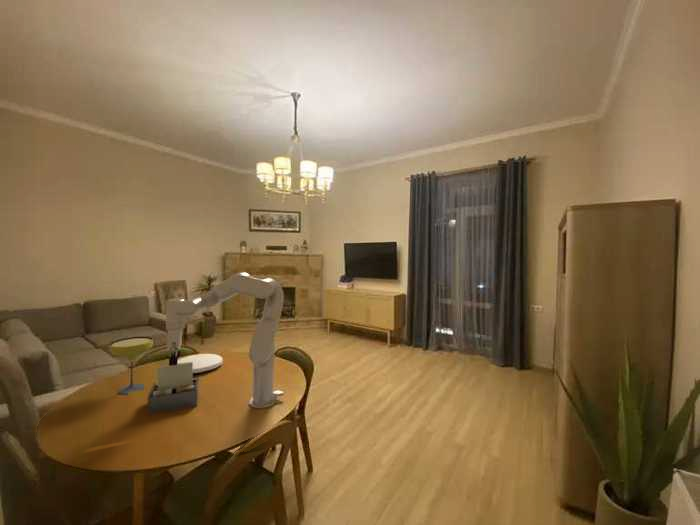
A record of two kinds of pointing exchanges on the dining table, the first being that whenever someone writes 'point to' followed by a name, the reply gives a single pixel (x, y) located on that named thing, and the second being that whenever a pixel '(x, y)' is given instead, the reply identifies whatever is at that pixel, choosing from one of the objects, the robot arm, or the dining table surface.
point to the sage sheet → (175, 375)
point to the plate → (203, 362)
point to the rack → (173, 399)
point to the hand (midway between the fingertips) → (174, 361)
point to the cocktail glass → (131, 355)
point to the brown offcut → (162, 392)
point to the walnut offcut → (185, 389)
